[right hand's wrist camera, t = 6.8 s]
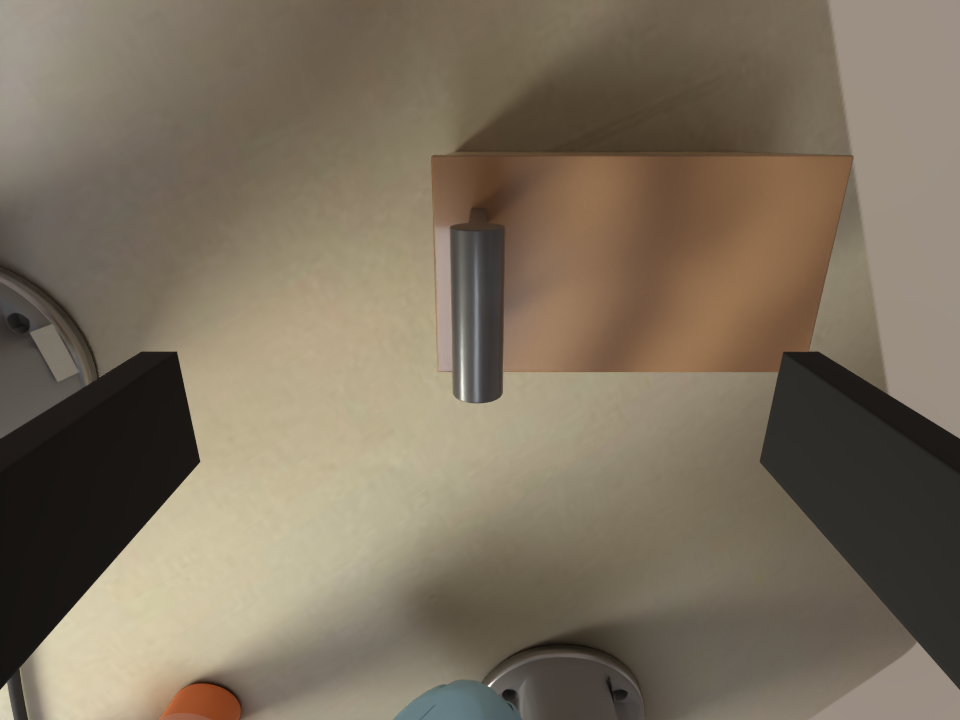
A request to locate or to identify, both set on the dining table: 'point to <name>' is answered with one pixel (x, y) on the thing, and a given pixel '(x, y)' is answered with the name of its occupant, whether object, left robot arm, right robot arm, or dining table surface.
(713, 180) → the lid
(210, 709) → the cup with straw
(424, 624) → the dining table surface
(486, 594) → the dining table surface
